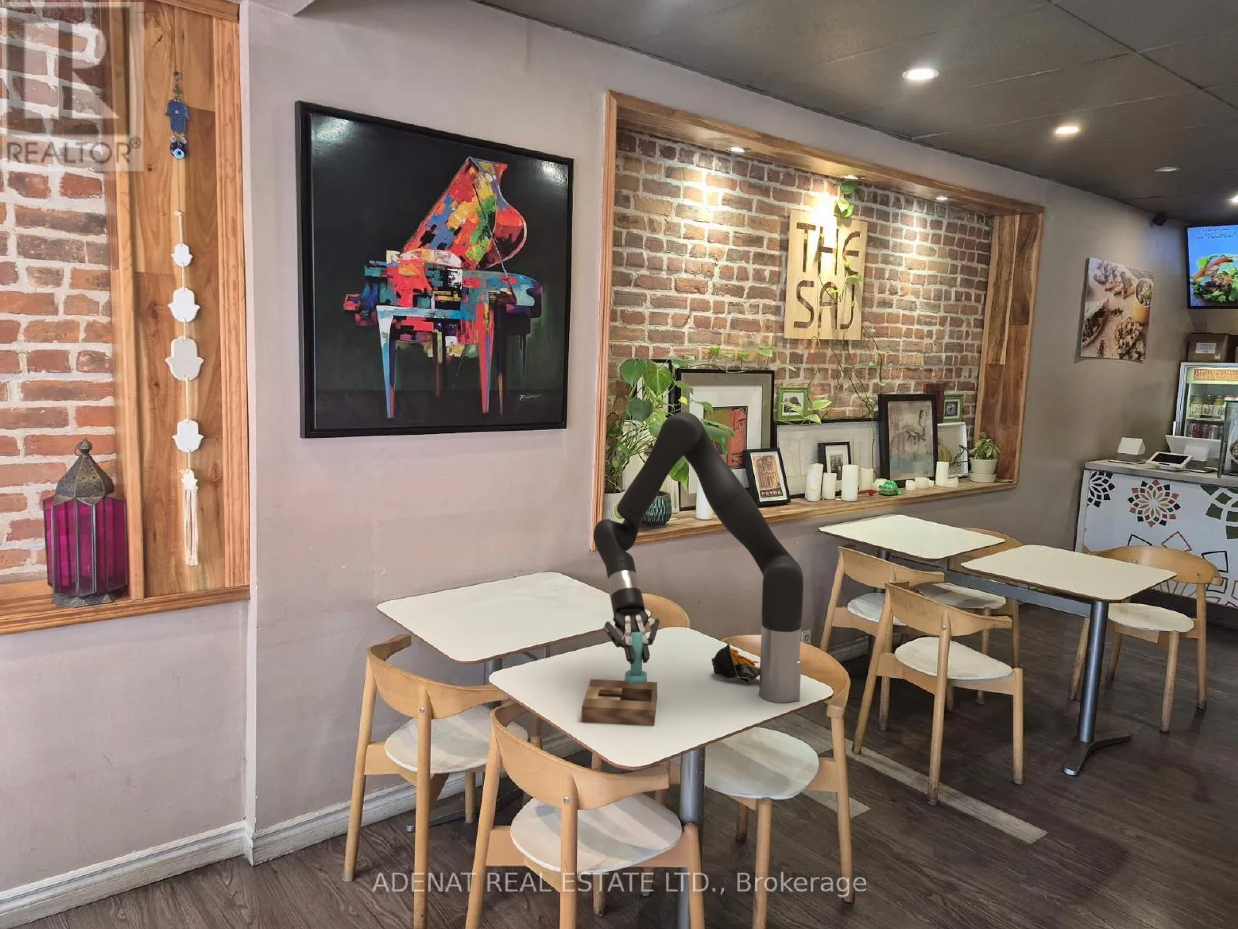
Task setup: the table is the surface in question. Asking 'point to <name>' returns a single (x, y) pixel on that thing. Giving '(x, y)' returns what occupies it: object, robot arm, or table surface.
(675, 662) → the table surface
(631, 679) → the peg
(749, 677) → the black fries container
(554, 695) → the table surface
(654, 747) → the table surface
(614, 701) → the keyhole plate
